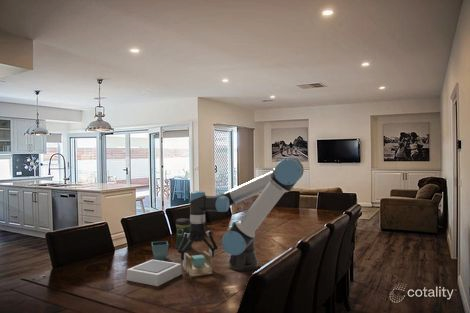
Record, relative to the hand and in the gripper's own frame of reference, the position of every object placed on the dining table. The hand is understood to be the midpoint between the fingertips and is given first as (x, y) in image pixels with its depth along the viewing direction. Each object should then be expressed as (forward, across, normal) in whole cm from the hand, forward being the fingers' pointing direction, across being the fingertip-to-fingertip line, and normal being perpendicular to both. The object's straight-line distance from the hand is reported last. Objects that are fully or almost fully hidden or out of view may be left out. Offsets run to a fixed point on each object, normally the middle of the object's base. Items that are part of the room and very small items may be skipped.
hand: (197, 265), depth 178 cm
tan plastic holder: (+3, 0, 0) cm, 3 cm away
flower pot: (+4, +13, -29) cm, 32 cm away
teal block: (0, 0, 0) cm, 0 cm away
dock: (+3, +21, 0) cm, 21 cm away
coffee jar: (+4, -5, -48) cm, 48 cm away
